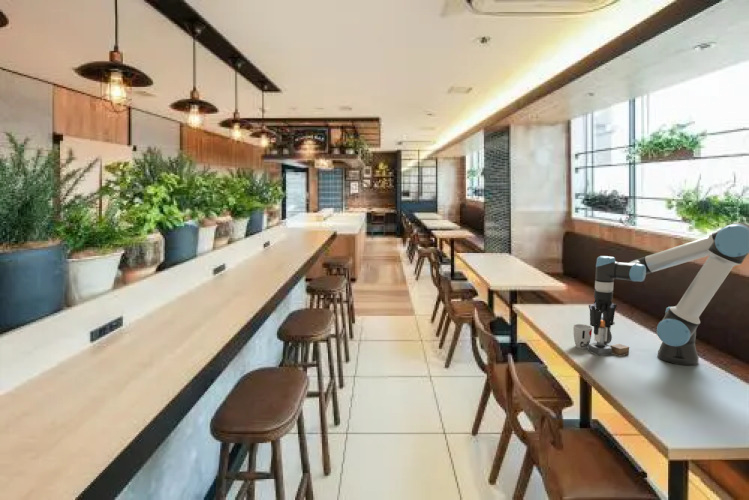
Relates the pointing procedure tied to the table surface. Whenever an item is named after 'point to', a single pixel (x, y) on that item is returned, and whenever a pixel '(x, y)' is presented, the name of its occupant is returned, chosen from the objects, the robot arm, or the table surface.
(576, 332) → the cup
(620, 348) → the block
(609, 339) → the caster wheel
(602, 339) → the pin
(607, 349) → the grey square socket base
